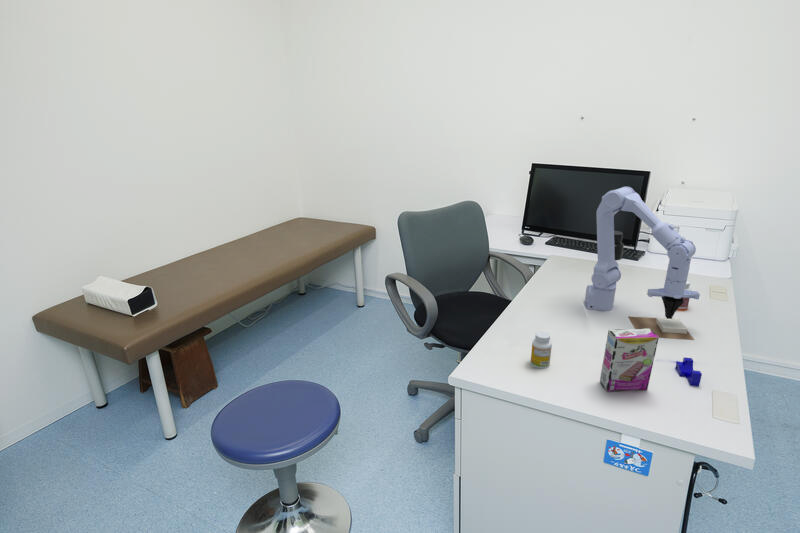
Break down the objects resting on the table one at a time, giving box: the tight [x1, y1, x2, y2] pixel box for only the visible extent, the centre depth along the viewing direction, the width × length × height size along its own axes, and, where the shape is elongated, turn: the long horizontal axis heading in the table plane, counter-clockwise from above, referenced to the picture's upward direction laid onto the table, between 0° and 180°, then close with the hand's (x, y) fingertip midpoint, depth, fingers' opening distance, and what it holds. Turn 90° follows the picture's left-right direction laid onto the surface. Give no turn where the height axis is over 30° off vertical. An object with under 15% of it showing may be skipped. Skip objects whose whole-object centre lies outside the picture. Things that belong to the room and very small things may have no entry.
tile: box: [655, 317, 688, 334], centre depth 150 cm, size 2×7×7 cm
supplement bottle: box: [530, 331, 553, 369], centre depth 133 cm, size 5×5×10 cm
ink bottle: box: [614, 230, 625, 261], centre depth 215 cm, size 10×9×12 cm
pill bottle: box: [676, 279, 692, 312], centre depth 163 cm, size 6×6×11 cm
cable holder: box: [674, 357, 703, 387], centre depth 126 cm, size 8×4×4 cm, turn 166°
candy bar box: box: [599, 328, 660, 392], centre depth 121 cm, size 11×5×16 cm, turn 92°
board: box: [627, 316, 695, 341], centre depth 151 cm, size 16×14×1 cm
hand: (668, 317), depth 149 cm, fingers closed
